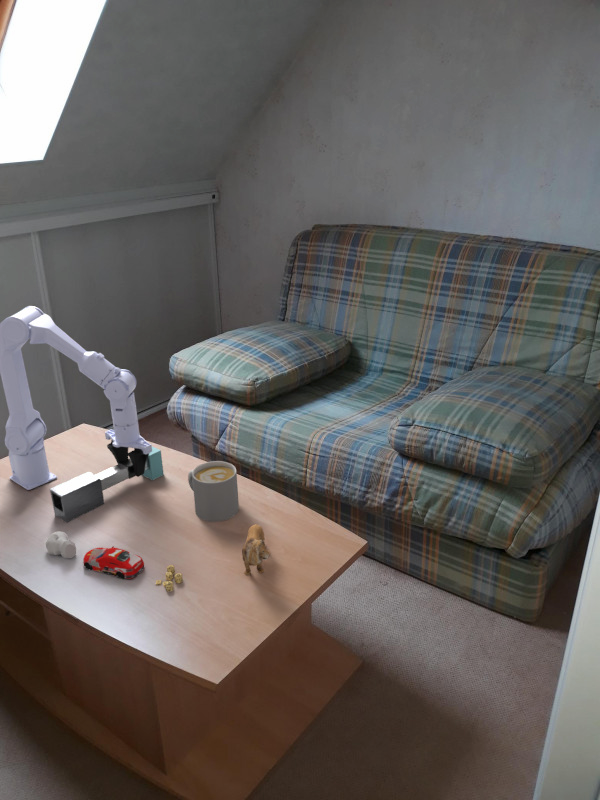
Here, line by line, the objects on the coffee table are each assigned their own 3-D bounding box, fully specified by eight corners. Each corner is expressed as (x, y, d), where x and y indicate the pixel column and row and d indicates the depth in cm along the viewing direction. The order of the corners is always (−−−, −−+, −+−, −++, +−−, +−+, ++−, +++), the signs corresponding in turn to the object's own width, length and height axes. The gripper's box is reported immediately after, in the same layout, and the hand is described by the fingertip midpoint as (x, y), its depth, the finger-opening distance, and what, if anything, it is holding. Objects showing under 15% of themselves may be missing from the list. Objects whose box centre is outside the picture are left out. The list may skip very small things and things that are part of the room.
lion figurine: (272, 584, 127) (270, 545, 124) (244, 587, 127) (242, 548, 123) (265, 539, 141) (263, 503, 137) (240, 542, 140) (237, 506, 136)
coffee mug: (247, 510, 151) (245, 472, 147) (210, 527, 145) (207, 488, 141) (215, 487, 161) (212, 451, 157) (179, 502, 155) (175, 465, 151)
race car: (78, 568, 133) (75, 552, 132) (96, 553, 138) (93, 537, 136) (132, 584, 128) (129, 567, 127) (148, 568, 133) (146, 551, 131)
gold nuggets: (171, 571, 132) (170, 564, 131) (189, 582, 129) (188, 574, 128) (151, 584, 129) (150, 576, 128) (169, 595, 126) (168, 587, 125)
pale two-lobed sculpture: (46, 552, 140) (67, 537, 142) (61, 569, 134) (82, 553, 136) (36, 538, 137) (58, 523, 140) (51, 555, 132) (73, 539, 134)
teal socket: (140, 474, 167) (137, 449, 164) (151, 468, 170) (148, 444, 167) (152, 480, 164) (149, 455, 161) (163, 474, 167) (160, 450, 164)
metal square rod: (76, 495, 153) (74, 483, 151) (147, 462, 167) (146, 450, 166) (84, 500, 151) (82, 488, 149) (155, 466, 165) (154, 454, 164)
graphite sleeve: (54, 515, 150) (49, 488, 148) (92, 497, 157) (88, 471, 155) (66, 522, 148) (61, 496, 145) (104, 504, 154) (100, 478, 152)
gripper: (92, 420, 157) (99, 469, 163) (132, 435, 149) (139, 487, 155) (115, 410, 162) (122, 458, 168) (156, 424, 154) (161, 474, 160)
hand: (132, 471), depth 162 cm, fingers open, 5 cm apart
